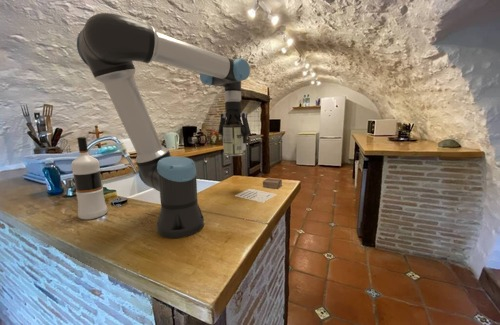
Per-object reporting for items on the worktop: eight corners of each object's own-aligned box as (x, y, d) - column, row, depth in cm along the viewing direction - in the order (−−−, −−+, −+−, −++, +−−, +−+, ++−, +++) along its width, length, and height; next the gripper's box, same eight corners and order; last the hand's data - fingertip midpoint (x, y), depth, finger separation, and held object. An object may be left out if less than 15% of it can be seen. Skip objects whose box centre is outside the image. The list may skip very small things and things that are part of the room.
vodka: (73, 222, 78) (59, 138, 73) (84, 211, 87) (72, 136, 81) (103, 218, 81) (91, 137, 75) (111, 209, 90) (100, 135, 84)
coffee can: (231, 152, 112) (230, 124, 109) (248, 153, 107) (248, 124, 104) (219, 155, 103) (218, 124, 100) (237, 156, 98) (236, 124, 95)
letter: (263, 203, 95) (262, 202, 94) (234, 196, 104) (234, 195, 103) (277, 194, 105) (277, 194, 105) (249, 189, 114) (249, 188, 114)
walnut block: (277, 190, 113) (277, 182, 112) (262, 188, 116) (262, 181, 115) (281, 186, 120) (281, 179, 119) (268, 184, 123) (268, 177, 122)
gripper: (258, 100, 97) (258, 150, 101) (219, 103, 109) (221, 147, 113) (249, 99, 91) (249, 152, 95) (209, 102, 103) (211, 148, 107)
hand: (234, 149), depth 104 cm, fingers closed on coffee can, 10 cm apart
